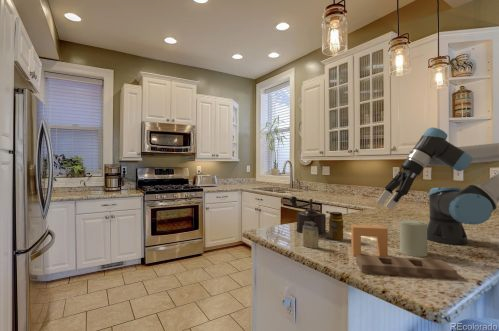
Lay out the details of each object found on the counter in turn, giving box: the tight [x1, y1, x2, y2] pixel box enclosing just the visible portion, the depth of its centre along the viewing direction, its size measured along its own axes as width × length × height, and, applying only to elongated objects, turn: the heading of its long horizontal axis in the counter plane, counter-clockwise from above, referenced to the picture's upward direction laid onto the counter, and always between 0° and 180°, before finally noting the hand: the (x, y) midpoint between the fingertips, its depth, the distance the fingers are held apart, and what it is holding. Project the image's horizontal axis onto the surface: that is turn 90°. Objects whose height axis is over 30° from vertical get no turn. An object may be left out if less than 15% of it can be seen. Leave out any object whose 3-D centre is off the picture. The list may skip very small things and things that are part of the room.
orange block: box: [350, 224, 389, 257], centre depth 99 cm, size 12×4×10 cm, turn 79°
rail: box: [355, 254, 458, 280], centre depth 85 cm, size 26×9×2 cm, turn 79°
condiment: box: [322, 211, 348, 243], centre depth 121 cm, size 7×8×12 cm
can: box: [399, 219, 429, 258], centre depth 102 cm, size 9×9×12 cm
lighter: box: [302, 221, 319, 249], centre depth 110 cm, size 7×4×10 cm, turn 42°
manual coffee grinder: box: [288, 195, 327, 235], centre depth 133 cm, size 16×11×18 cm
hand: (383, 205), depth 112 cm, fingers open, 13 cm apart
